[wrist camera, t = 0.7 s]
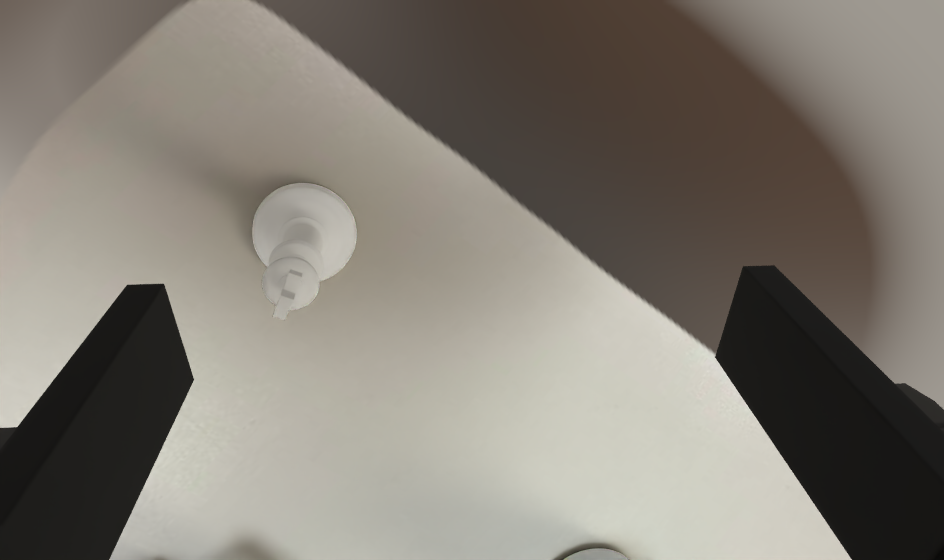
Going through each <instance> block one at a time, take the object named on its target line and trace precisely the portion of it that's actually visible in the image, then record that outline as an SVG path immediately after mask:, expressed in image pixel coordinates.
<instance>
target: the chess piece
mask: <svg viewBox="0 0 944 560" xmlns="http://www.w3.org/2000/svg"><path fill="white" fill-rule="evenodd" d="M252 237H253V243H254V247H255V250H256V252H257V254H258V256H259V258H260V259H261V261H262V262H263V263H264V265H265V266H266V267H267V269H266V270H265V272H264V274H263V278H262V288H263V291H264V294H265V296H266V297H267V298H268V300H269V301H270V302H271V303H273V304H274V305H276V308H275V311H274V314H273V317H275V318H278V319H281V320H285V319H286V317H287V314H288V312H289V311H290V310H296V309H300V308H303V307H305V306H307V305H309V304H310V303H311V302H312V301H313V300H314V299H315V297H316V296H317V294H318V291H319V286H320V282H319V281H323V280H325V279H328V278H330V277H332V276H333V275H335V274H336V273H338V272H339V271H340V270H341V269H342V268H343V267H344V266H345V265H346V263H347V262H348V261H349V259H350V257H351V256H352V254H353V251H354V249H355V245H356V240H357V228H356V223H355V219H354V216H353V214H352V212H351V210H350V208H349V207H348V205H347V204H346V203H345V202H344V201H343V200H342V199H341V198H340V197H339V196H338V195H337V194H335V193H334V192H333V191H331V190H329V189H327V188H325V187H322V186H320V185H316V184H311V183H294V184H289V185H286V186H283V187H281V188H279V189H277V190H275V191H273V192H272V193H271V194H269V195H268V196H267V197H266V198H265V199H264V200H263V201H262V203H261V204H260V206H259V207H258V209H257V211H256V213H255V216H254V220H253V226H252Z"/></svg>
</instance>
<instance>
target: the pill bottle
mask: <svg viewBox="0 0 944 560" xmlns="http://www.w3.org/2000/svg"><path fill="white" fill-rule="evenodd" d="M563 560H629V559H628V558H627V557H626V556H624V555H623V554H621V553H619V552H617V551H614V550H610V549H603V548H594V549H587V550H583V551H580V552H577V553H574V554H572V555H570V556H568V557H566V558H565V559H563Z"/></svg>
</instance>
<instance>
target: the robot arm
mask: <svg viewBox="0 0 944 560" xmlns="http://www.w3.org/2000/svg"><path fill="white" fill-rule="evenodd" d="M715 358H716V359H717V361H718V362H719V364H720V365H721V367H722V368H723V370H724V371H725V373H726V374H727V376H728V377H729V379H730V380H731V382H732V383H733V384H734V386H735V387H736V389H737V390H738V392H739V393H740V395H741V396H742V398H743V399H744V401H745V402H746V404H747V405H748V407H749V408H750V410H751V411H752V413H753V414H754V416H755V417H756V418H757V420H758V421H759V423H760V424H761V426H762V427H763V429H764V430H765V432H766V433H767V435H768V436H769V438H770V439H771V441H772V442H773V444H774V445H775V447H776V448H777V450H778V451H779V452H780V454H781V455H782V457H783V458H784V460H785V461H786V463H787V464H788V466H789V467H790V469H791V470H792V472H793V473H794V475H795V476H796V478H797V479H798V481H799V482H800V484H801V485H802V486H803V488H804V489H805V491H806V492H807V494H808V495H809V497H810V498H811V500H812V501H813V503H814V504H815V506H816V507H817V509H818V510H819V512H820V513H821V515H822V516H823V518H824V519H825V521H826V522H827V523H828V525H829V526H830V528H831V529H832V531H833V532H834V534H835V535H836V537H837V538H838V540H839V541H840V543H841V544H842V546H843V547H844V549H845V550H846V552H847V553H848V555H849V556H850V557H851V559H852V560H944V410H943V409H942V408H941V407H940V406H939V405H938V404H937V403H936V402H935V401H933V400H932V399H930V398H928V397H927V396H925V395H923V394H922V393H920V392H918V391H917V390H915V389H914V388H912V387H910V386H908V385H907V384H905V383H902V384H894V383H893V382H892V381H891V380H890V379H889V378H888V377H887V376H886V375H885V374H884V373H883V372H882V371H881V370H880V369H879V368H878V367H877V366H876V365H875V364H874V363H873V362H872V361H871V360H870V359H869V358H868V357H867V356H866V355H865V354H864V353H863V352H862V351H861V350H860V349H859V348H858V347H857V346H855V344H854V343H853V342H852V341H851V340H850V339H849V338H848V337H847V336H846V335H844V334H843V333H842V332H841V331H840V330H839V329H838V328H837V327H836V326H835V325H834V324H833V323H832V322H831V321H830V320H829V319H828V318H827V317H826V316H825V315H824V314H823V313H822V312H821V311H820V310H819V309H818V308H817V307H816V306H815V305H814V304H813V303H812V302H811V301H810V300H809V299H808V298H807V297H806V296H805V295H804V294H803V293H802V292H801V291H800V290H799V289H798V288H797V287H796V286H794V284H792V283H791V282H790V281H789V280H788V279H787V278H786V277H785V276H784V275H783V274H782V273H781V272H780V271H779V270H778V269H777V268H776V267H775V266H744V267H743V268H742V272H741V275H740V278H739V281H738V285H737V288H736V291H735V294H734V298H733V301H732V304H731V307H730V311H729V314H728V317H727V321H726V324H725V327H724V330H723V334H722V337H721V340H720V344H719V347H718V350H717V353H716V356H715ZM193 381H194V378H193V375H192V372H191V368H190V365H189V362H188V359H187V356H186V352H185V349H184V346H183V343H182V340H181V337H180V333H179V330H178V327H177V324H176V321H175V317H174V314H173V311H172V308H171V305H170V301H169V298H168V295H167V292H166V289H165V286H164V284H140V285H127V286H126V287H125V288H124V290H123V291H122V292H121V294H120V295H119V296H118V297H117V299H116V300H115V301H114V303H113V304H112V305H111V307H110V308H109V309H108V310H107V312H106V313H105V314H104V316H103V317H102V318H101V319H100V321H99V322H98V323H97V325H96V326H95V327H94V329H93V330H92V331H91V332H90V334H89V335H88V336H87V338H86V339H85V340H84V342H83V343H82V344H81V345H80V347H79V348H78V349H77V351H76V352H75V353H74V354H73V356H72V357H71V358H70V360H69V361H68V362H67V364H66V365H65V366H64V367H63V369H62V370H61V371H60V373H59V374H58V375H57V377H56V378H55V379H54V380H53V382H52V383H51V384H50V386H49V387H48V388H47V389H46V391H45V392H44V393H43V395H42V396H41V397H40V399H39V400H38V401H37V402H36V404H35V405H34V406H33V408H32V409H31V410H30V412H29V413H28V414H27V415H26V417H25V418H24V419H23V421H22V422H21V423H20V424H19V426H18V427H14V428H0V560H109V559H110V557H111V554H112V552H113V550H114V548H115V546H116V544H117V542H118V540H119V537H120V535H121V533H122V531H123V529H124V527H125V525H126V523H127V521H128V518H129V516H130V514H131V512H132V510H133V508H134V506H135V504H136V501H137V499H138V497H139V495H140V493H141V491H142V489H143V487H144V485H145V482H146V480H147V478H148V476H149V474H150V472H151V470H152V468H153V465H154V463H155V461H156V459H157V457H158V455H159V453H160V451H161V449H162V446H163V444H164V442H165V440H166V438H167V436H168V434H169V432H170V429H171V427H172V425H173V423H174V421H175V419H176V417H177V415H178V412H179V410H180V408H181V406H182V404H183V402H184V400H185V398H186V396H187V393H188V391H189V389H190V387H191V385H192V383H193Z"/></svg>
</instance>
